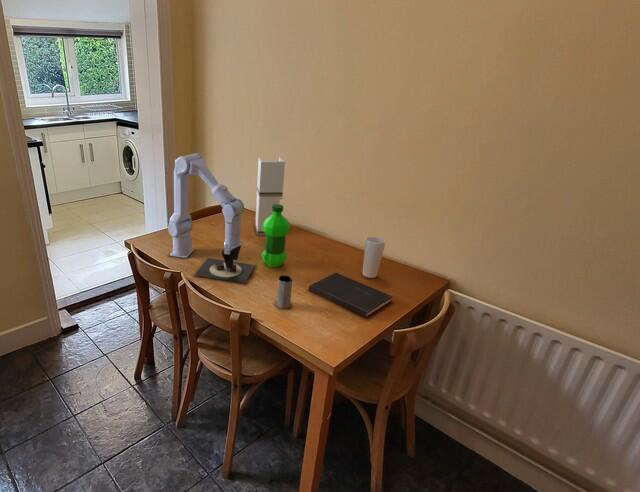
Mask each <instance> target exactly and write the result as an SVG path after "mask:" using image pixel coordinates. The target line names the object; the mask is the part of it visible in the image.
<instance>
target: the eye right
mask: <svg viewBox="0 0 640 492" xmlns="http://www.w3.org/2000/svg"><path fill="white" fill-rule="evenodd" d="M227 271H228V272H236V265H235V264H233V266H232V268H231V269H230V268H227Z"/></svg>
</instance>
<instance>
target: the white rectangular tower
mask: <svg viewBox="0 0 640 492" xmlns="http://www.w3.org/2000/svg"><path fill="white" fill-rule="evenodd" d="M285 166H286V161H285V159H283V157H282V156H279V157H278V161H268V160H267V161H266V160H263V159H262V158H261V156H258V160H257V179H256V180H257V181H256V202H255V226H254V227H255V232H256V235H257V236H266V233H265V232H264V231H263V223H264V221H265V220H266V219H267V218H268V217H269V216H271V215H272V214H273V211H272V206H273V205H275V204H278V205H280V202H281V200H283V194H284V180H285Z"/></svg>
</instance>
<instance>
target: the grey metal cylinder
mask: <svg viewBox="0 0 640 492" xmlns="http://www.w3.org/2000/svg"><path fill="white" fill-rule="evenodd" d="M292 287H293V278H292V276H290V275H279V276H278V280H277V291H276V292H277V294H276V306H277V307H278V308H280V309H289V308H290V307H291V301H292Z"/></svg>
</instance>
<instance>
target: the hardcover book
mask: <svg viewBox="0 0 640 492" xmlns="http://www.w3.org/2000/svg"><path fill="white" fill-rule="evenodd" d="M308 291H309V292H311V293H313V294H316V295H317V296H320V297H322V298H323V299H326V300H328V301H330V302H332V303H334V304H336V305H339V306H341V307H342V308H344V309H346V310H348V311H350V312H353V313H355V314H357V315H359V316H361V317H363V318H365V319H368V317H370V316H372V315H373V314H375V313H377V312H378V311H380V310H382V309H384V308H385V307H386V306H388V305H389V304H391V303H392V302H393V301H392V298H394V297H393V295H390V294H389V293H386V292H383V291H381V290H379V289H376V288H374V287H371V286H369V285H366V284H364V283H362V282H359V281H357V280H355V279H352V278H350V277H349V276H345V275H343V274H341V273H338V272H334V273H332V274H330V275H328V276H326V277H324V278H321V279H320V280H317V281H316V282H314V283H312V284H310V285H309V286H308Z"/></svg>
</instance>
